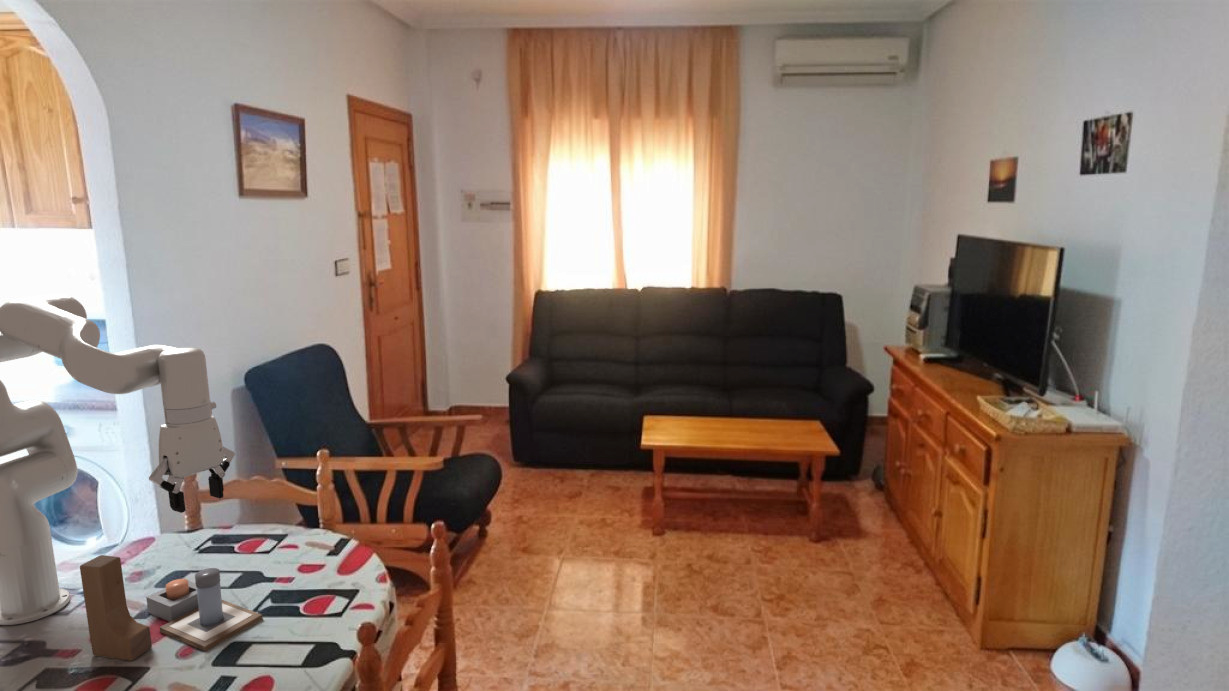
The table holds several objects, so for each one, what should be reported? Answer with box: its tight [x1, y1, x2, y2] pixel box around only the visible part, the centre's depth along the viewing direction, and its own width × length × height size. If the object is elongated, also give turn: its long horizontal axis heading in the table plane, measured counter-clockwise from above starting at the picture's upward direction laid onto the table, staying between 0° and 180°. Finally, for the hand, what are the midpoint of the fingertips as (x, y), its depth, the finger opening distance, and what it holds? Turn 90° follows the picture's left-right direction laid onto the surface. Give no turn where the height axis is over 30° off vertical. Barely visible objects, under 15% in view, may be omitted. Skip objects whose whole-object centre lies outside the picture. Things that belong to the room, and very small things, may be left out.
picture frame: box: [159, 599, 264, 652], centre depth 139 cm, size 14×12×1 cm
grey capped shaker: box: [194, 567, 223, 626], centre depth 138 cm, size 4×4×10 cm
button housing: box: [146, 580, 198, 623], centre depth 145 cm, size 8×8×4 cm
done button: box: [164, 578, 189, 600], centre depth 145 cm, size 4×4×2 cm
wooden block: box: [79, 554, 153, 662], centre depth 130 cm, size 9×4×18 cm, turn 78°
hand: (198, 503), depth 135 cm, fingers open, 6 cm apart
